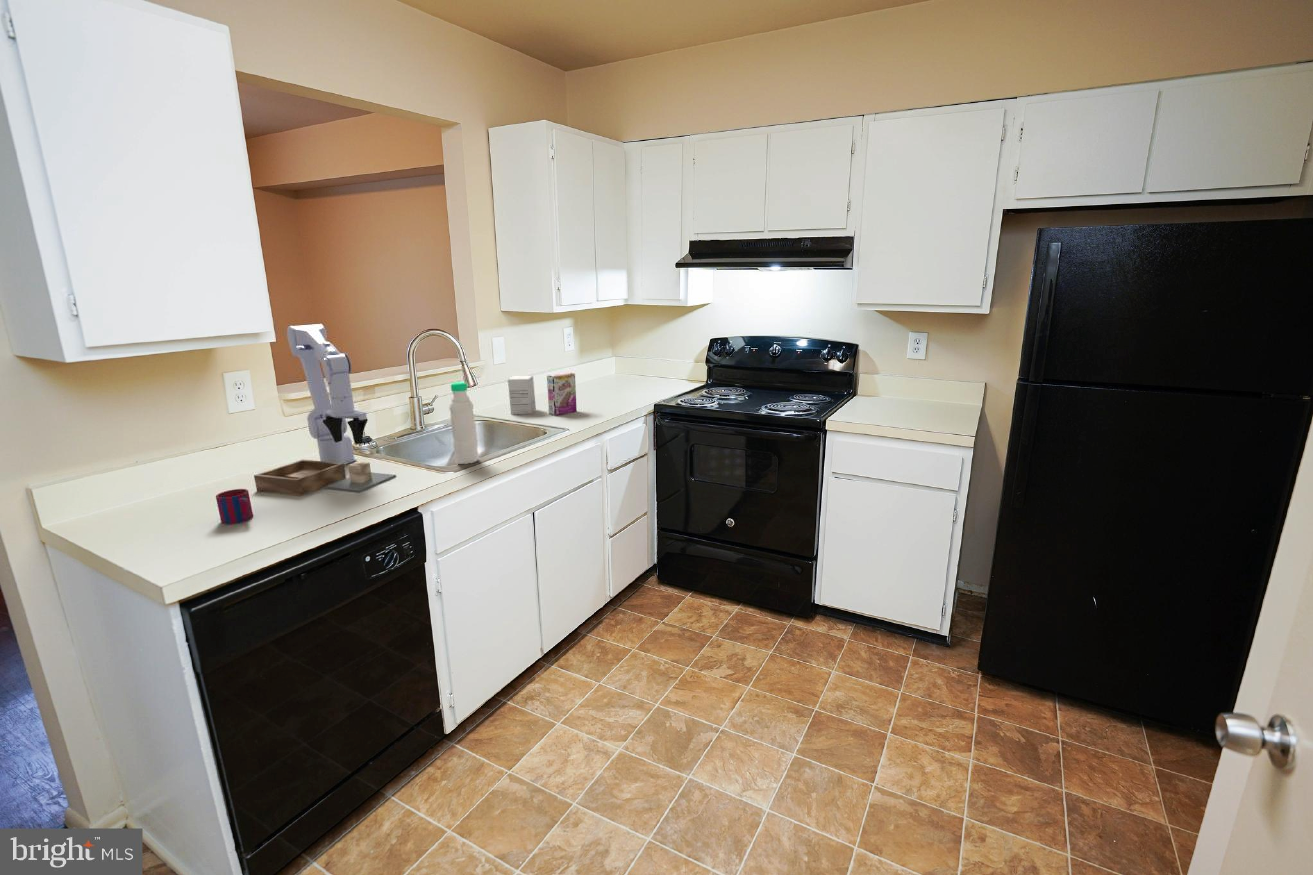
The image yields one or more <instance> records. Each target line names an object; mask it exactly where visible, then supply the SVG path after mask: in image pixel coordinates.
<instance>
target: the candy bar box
mask: <svg viewBox="0 0 1313 875" xmlns="http://www.w3.org/2000/svg"><path fill="white" fill-rule="evenodd" d="M546 380H547V382H546V383H547V385H546V386H547V399H548V400H547V401H548V402H547V403H548V414H549V415H551V416H554V417H555V416H562V415H565V414H566V415H567V414H570V413H571V414H572V413H576V412H577V410H578V409H577V388H576V373H573V372H563V373H557V374H548V375H546Z"/></svg>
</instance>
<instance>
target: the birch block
mask: <svg viewBox="0 0 1313 875" xmlns="http://www.w3.org/2000/svg"><path fill="white" fill-rule="evenodd" d="M347 469H348V475H349V477H350V482H353V483H364V482H366V481H369V480H371V479H372V475H371V472H372V470H371V464H370V462H369V461H368V462H367V461H356V462H352V463H351V464H350V463H349V464H348V465H347Z"/></svg>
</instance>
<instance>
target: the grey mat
mask: <svg viewBox="0 0 1313 875" xmlns="http://www.w3.org/2000/svg"><path fill="white" fill-rule="evenodd" d="M371 475H372V479H371V480H369V481H366V482H364V483H353V482H350V476H349V477H346V478H345V479H342V480H340V481H337V482H335V483H332V484H329V485H327V486H325V489H329V490H336V491H345V492H354V493H360V492H363V491H366V490H368V489H371V488H373V487H375V486H378V485H380V484H382V483H384V482H387V481H390V480H391V479H394V478H396V477H397V474H391V473H390V474H389V473H382V472H381V473H379V472H372V471H371Z"/></svg>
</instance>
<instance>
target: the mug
mask: <svg viewBox="0 0 1313 875" xmlns="http://www.w3.org/2000/svg"><path fill="white" fill-rule="evenodd" d="M249 492H250V491H249V490H248V489H247V488H237V489H236V488H235V489H230V490H226V491H222V492H219V493H217V494H216V495H215V499H216V503H217V504H216V505H217V510H218V513H219V518H220V523H221V524H223V525H235V524H236V523H237V524H241V523H244V521H245V522H248V521H250V520H252V519H253V517H254V514H253V507H252V503H251V499H250V493H249ZM249 519H250V520H249ZM240 522H241V523H240Z"/></svg>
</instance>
